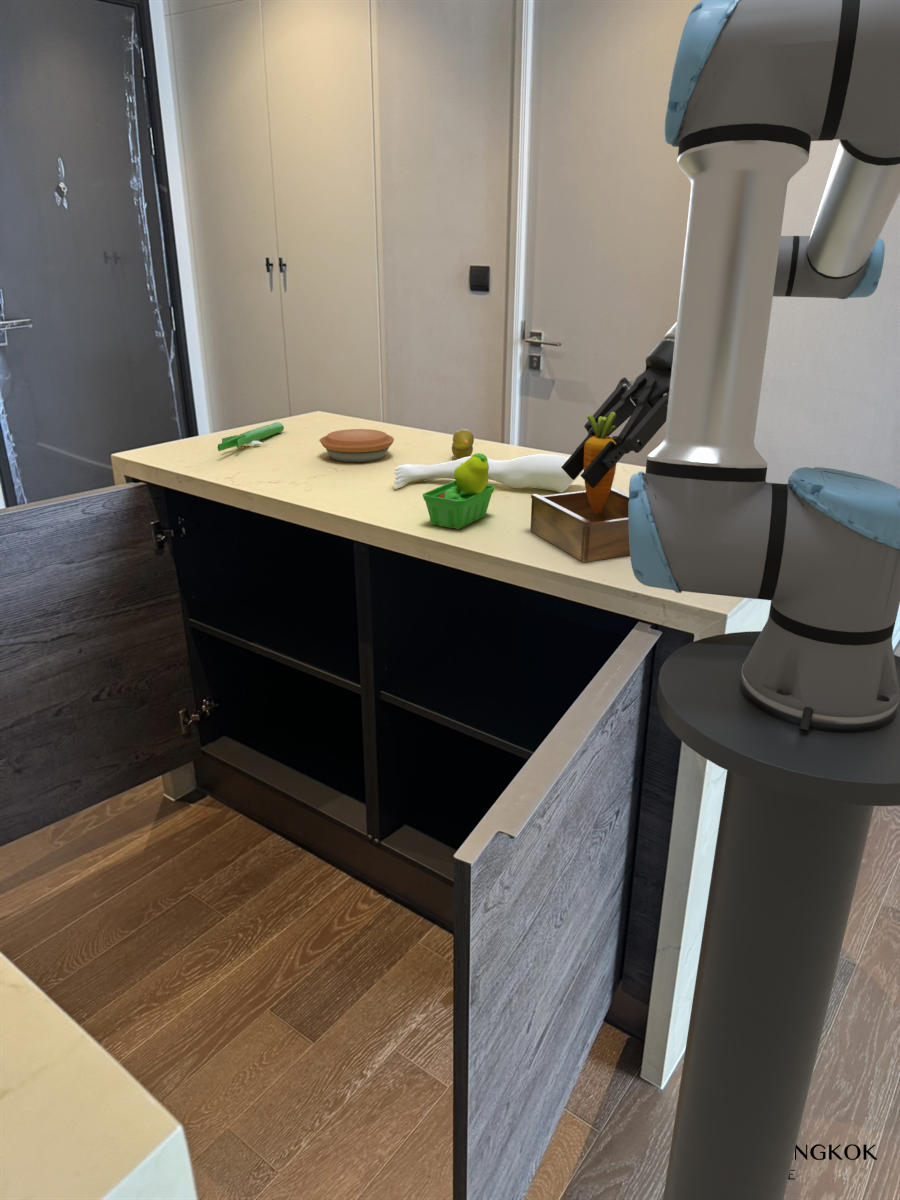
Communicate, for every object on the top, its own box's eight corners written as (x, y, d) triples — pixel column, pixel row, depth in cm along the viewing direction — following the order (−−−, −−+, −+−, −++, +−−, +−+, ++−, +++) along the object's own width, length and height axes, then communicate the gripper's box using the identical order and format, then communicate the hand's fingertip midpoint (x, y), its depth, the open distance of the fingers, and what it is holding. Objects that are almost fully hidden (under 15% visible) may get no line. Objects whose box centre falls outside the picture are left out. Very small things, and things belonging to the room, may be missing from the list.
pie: (361, 445, 191) (360, 422, 189) (409, 456, 181) (409, 432, 179) (305, 456, 181) (304, 432, 179) (353, 469, 171) (352, 444, 169)
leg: (589, 460, 148) (590, 447, 158) (391, 464, 154) (403, 451, 164) (589, 498, 151) (589, 483, 160) (394, 500, 157) (406, 485, 166)
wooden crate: (663, 550, 126) (667, 511, 124) (583, 562, 121) (585, 522, 119) (604, 520, 140) (607, 485, 137) (529, 530, 135) (531, 494, 132)
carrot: (573, 513, 129) (579, 411, 123) (592, 506, 132) (598, 407, 126) (601, 519, 125) (608, 416, 120) (619, 512, 129) (628, 411, 123)
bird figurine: (455, 467, 172) (455, 435, 170) (448, 451, 186) (448, 420, 184) (477, 467, 173) (477, 434, 170) (468, 450, 186) (468, 420, 184)
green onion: (270, 435, 204) (209, 456, 177) (270, 421, 203) (208, 440, 176) (290, 436, 203) (231, 458, 176) (289, 422, 202) (230, 442, 175)
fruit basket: (456, 508, 146) (456, 441, 142) (502, 516, 142) (504, 448, 138) (420, 525, 137) (419, 455, 133) (469, 534, 133) (469, 462, 128)
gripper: (735, 381, 120) (625, 509, 120) (658, 366, 135) (560, 480, 135) (709, 343, 116) (596, 475, 116) (632, 332, 131) (532, 449, 131)
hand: (577, 477), depth 125 cm, fingers closed on carrot, 5 cm apart
